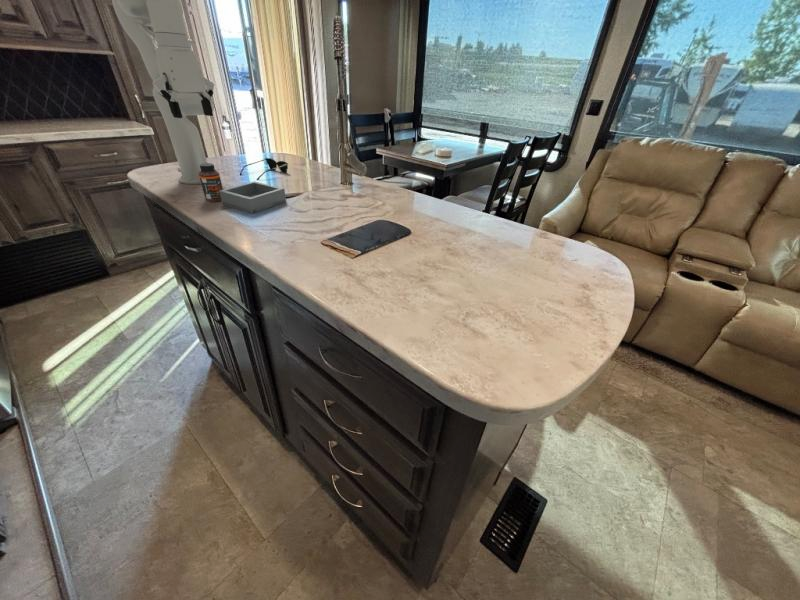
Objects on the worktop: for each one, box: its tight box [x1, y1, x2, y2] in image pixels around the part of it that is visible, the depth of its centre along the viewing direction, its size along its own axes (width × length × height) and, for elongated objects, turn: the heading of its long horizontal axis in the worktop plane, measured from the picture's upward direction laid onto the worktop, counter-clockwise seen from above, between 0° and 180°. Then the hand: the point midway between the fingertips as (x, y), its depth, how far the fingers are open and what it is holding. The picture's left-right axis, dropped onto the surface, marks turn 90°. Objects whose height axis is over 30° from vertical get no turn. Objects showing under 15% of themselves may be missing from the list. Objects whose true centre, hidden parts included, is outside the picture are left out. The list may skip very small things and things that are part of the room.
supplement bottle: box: [199, 162, 224, 203], centre depth 107 cm, size 6×6×11 cm
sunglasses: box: [239, 157, 289, 181], centre depth 138 cm, size 14×16×5 cm
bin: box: [219, 180, 287, 214], centre depth 108 cm, size 14×14×4 cm
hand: (194, 116), depth 96 cm, fingers open, 9 cm apart
